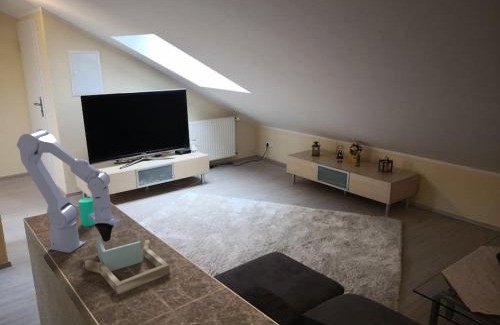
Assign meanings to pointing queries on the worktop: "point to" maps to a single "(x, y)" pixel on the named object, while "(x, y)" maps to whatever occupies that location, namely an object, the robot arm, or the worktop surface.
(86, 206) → the candle
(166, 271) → the pocket
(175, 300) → the worktop surface
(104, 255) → the l-shaped corner panel
